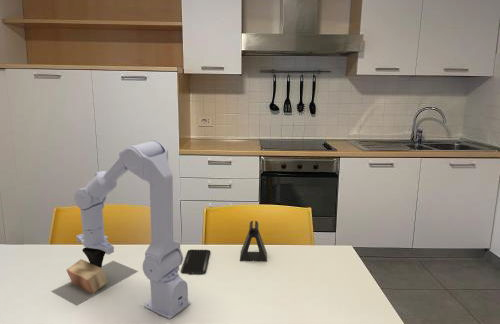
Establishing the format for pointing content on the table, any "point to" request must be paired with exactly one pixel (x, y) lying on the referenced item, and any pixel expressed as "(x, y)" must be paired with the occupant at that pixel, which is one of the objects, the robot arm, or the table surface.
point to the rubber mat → (79, 295)
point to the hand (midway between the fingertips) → (97, 269)
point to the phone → (196, 262)
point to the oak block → (87, 276)
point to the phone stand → (262, 251)
